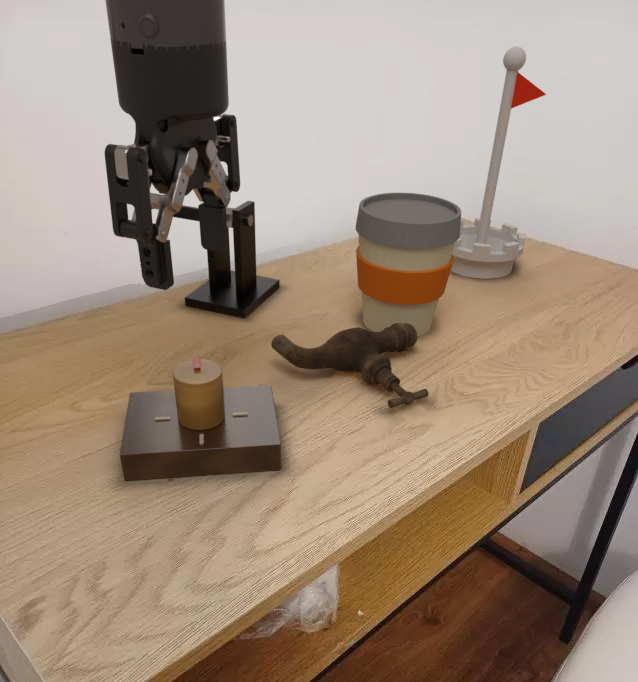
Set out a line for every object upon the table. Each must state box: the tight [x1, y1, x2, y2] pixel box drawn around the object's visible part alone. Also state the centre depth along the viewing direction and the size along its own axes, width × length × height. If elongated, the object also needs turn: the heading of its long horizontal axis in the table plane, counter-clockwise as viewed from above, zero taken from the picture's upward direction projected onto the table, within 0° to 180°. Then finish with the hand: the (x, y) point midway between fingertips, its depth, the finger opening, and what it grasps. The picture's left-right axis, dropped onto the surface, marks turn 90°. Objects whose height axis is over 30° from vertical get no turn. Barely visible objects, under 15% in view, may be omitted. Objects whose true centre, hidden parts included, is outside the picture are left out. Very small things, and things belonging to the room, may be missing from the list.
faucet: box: [270, 323, 429, 409], centre depth 72 cm, size 5×17×15 cm
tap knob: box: [172, 355, 225, 430], centre depth 59 cm, size 4×4×5 cm
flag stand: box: [450, 46, 547, 280], centre depth 93 cm, size 13×13×30 cm
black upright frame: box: [184, 200, 280, 319], centre depth 86 cm, size 11×9×13 cm
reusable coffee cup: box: [355, 192, 462, 338], centre depth 80 cm, size 13×13×15 cm
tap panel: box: [119, 385, 282, 482], centre depth 61 cm, size 14×10×3 cm
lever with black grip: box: [173, 204, 236, 229], centre depth 78 cm, size 13×5×2 cm, turn 158°
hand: (188, 267), depth 52 cm, fingers open, 8 cm apart
